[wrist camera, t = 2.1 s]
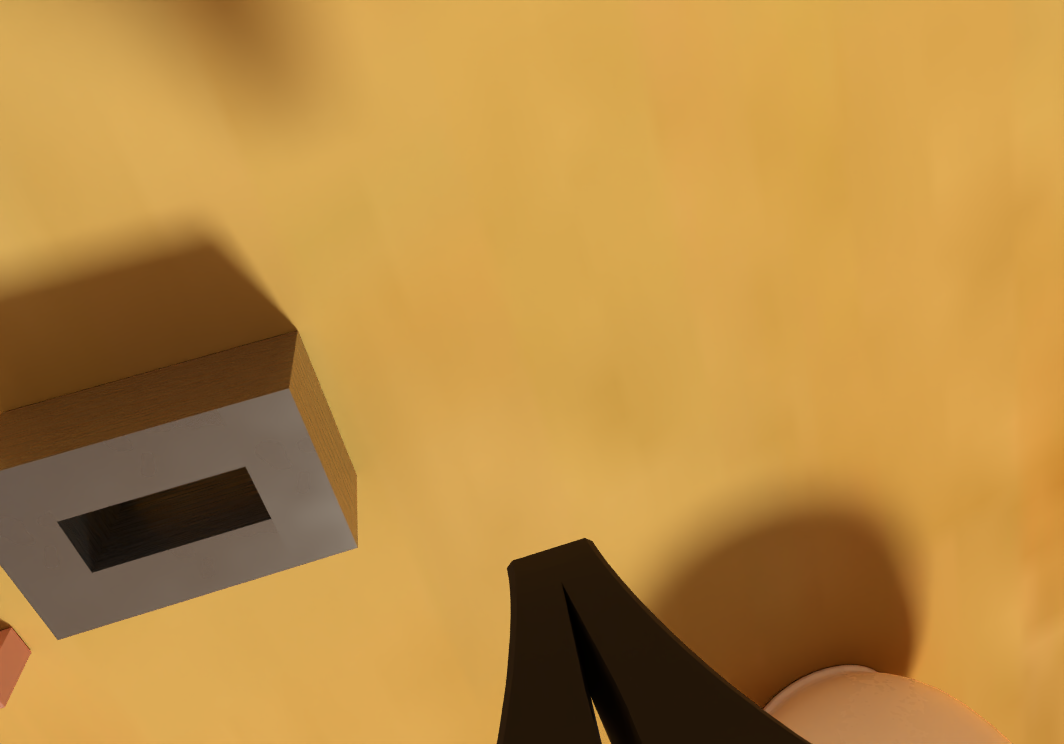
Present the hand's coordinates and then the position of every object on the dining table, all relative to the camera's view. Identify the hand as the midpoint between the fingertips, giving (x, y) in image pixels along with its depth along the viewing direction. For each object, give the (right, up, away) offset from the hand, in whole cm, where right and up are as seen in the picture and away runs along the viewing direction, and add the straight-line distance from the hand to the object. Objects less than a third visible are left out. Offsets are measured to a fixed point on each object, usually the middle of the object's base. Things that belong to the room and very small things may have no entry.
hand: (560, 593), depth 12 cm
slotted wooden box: (-9, +2, +7) cm, 11 cm away
